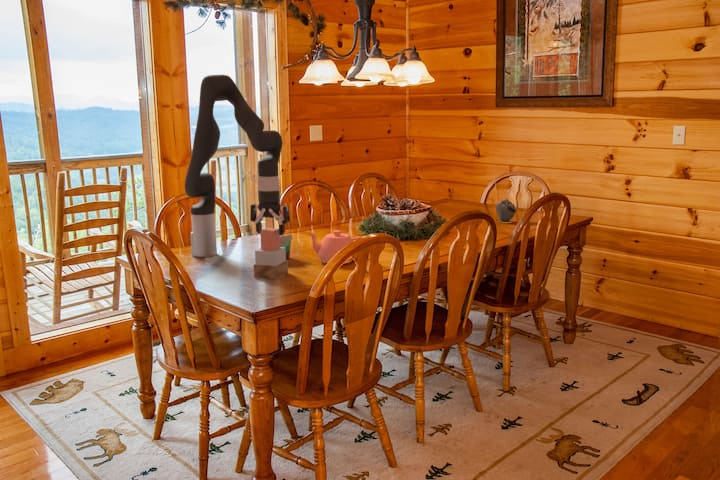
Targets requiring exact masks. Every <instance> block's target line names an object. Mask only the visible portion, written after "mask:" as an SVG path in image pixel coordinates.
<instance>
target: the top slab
mask: <svg viewBox="0 0 720 480" xmlns="http://www.w3.org/2000/svg"><path fill="white" fill-rule="evenodd" d="M254 256H255V264H256V265H267V266H278V265H279V264H281V263H283V262H285V261H286V250H285V247H280V248H279V249H277V250H275V251H268V250H261V247H260V248H258V249H256V250H254Z"/></svg>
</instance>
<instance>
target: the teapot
mask: <svg viewBox="0 0 720 480" xmlns="http://www.w3.org/2000/svg"><path fill="white" fill-rule="evenodd" d="M306 232H307V233H308V234H309V235H310V236H311V240H312V249H313V250H314V252H315V253H316V254H317V257H318V259H319V260H320V261H321V263H323V264H326V263H327V262H328V261H329V260H330V259H331V258H332V257H333V256H334V255H335V254H336V253H337V252H338V251H339V250H341V249H342V248H343V247H345V246H346V245H348V244H349V243H351V242H354V241H358V240H357V239H359V238H361V237H362V236H355V237H351V236H350V235H349V234H348V233H342V230H339V229H337V230H336V229H335V230H333V231H332V232H333V233H332V232H331V233H328V234H327V233H326V235H324V237H323V239H322V241H321V242H320V244H319V243H318V240H317V236H316V234H315V233H314V232H312V231H309V230H307V231H306ZM352 260H353V259H352V258H350V259H349V260H348V261H352ZM348 261H347V262H348Z"/></svg>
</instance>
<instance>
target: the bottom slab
mask: <svg viewBox="0 0 720 480" xmlns="http://www.w3.org/2000/svg"><path fill="white" fill-rule="evenodd" d="M288 261H289V260H286V261H285V262H283V263H281V264H279V265H278V266H267V265H256V263H255V264H253V277H254V279H261V280H262V279H263V280H275V281H278V280H279V279H282V277H284V276H286V275H288V274H289V266H288V265H289V264H288Z"/></svg>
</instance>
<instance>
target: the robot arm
mask: <svg viewBox="0 0 720 480" xmlns="http://www.w3.org/2000/svg"><path fill="white" fill-rule="evenodd" d="M223 101H224V102H225V101H227V102H228V103H230V104H231V105H232V106H233V108H234V112H233V114H234V120H235V121H236V123H237V124H238V125H239V127H240V128H241V129H242V130H243V131H244V132H245V133H246V135H247V137H248V140H249V142H250V145H251V147H252V148H253V149H254V150H255V151H257V152H259V153H260V152H261V153H265V152H266V153H265V154H266V155H265V157H263V158H260V159H259V160H258V162H257V176H258V177H257V195H258V196H257V197H258V204H257V203H253V204H251V205H250V211H249V212H250V219H249V221H251V222H254V223H255V231H256V233H257V234H259V235H260V230H263V226H262V225H263V224H262V223H263V222H262V221H263V219H264V218H270V219H273V218H274V219H275V221H277V222H278V224H279V225H278V229H279V235H280V236H284V234H285V233H286V224H288V223H290V222H291V218H290V206H289V205H281V190H280V189H281V186H280V185H281V183H280V177H279V176H280V173H279V162H280V158H281V152H282V149H283V138H282V135H281V134H280V132H279V131H278V130H264V129H265V123H264V122H263V120H262V119H261V118H260V117H259V115H257V114H256V112H255V111H254V110H253V109H252V107H251V106H250V105H249V104H248V102H247V100H246V99H245V98H244V95H243V94H242V92H241V91H240V88H239V87H238V85H236V83H235V81H234V79H232V77H230V76H229V75H227V74H209V75H205V76H204V77H203V79H202V80H201V84H200V91H199V104H198V114H197V119H196V120H197V121H196V127H195V132H194V137H193V145H192V150H191V155H190V156H191V157H190V160H189V164H188V168H187V171H186V175H185V178H184V179H185V180H184V191H185V194H186V195H187V197H189V198H200V200H199V201H198V202H197V203H195V204H193V205H192V206H191V207H190V217H191V218H190V219H191V232H189V233H190V234H189V237H190V247H191V249H190V250H191V256H193V257H198V258H208V257H209V258H210V257H213V256H216V255H217V254H218V251H217V250H218V249H217V248H218V247H217V232H216V230H217V229H216V218H215V217H216V216H215V215H216V214H215V207H216V193H215V192H216V187H215V186H216V185H215V178H214V177H213V175H212V174H211V173H209V172H202V171H203V169H204V167H205V166H206V164H207V163H209V161H210V160H211V159H212V157H214V155H216V152H217V150H218V147H219V143H220V139H221V131H220V127H219V125H218V123H217V121H216V118H215V116H214V107H215V106H214V105H215V102H223ZM258 210H259V213H257V212H258ZM280 211H281V212H282V213H283V214H281V212H280Z"/></svg>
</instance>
